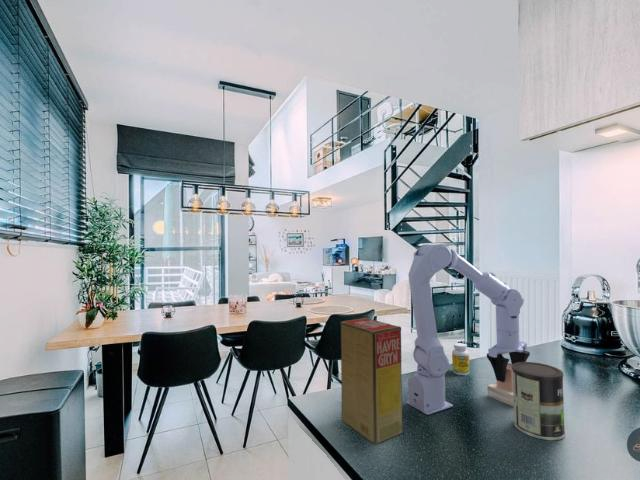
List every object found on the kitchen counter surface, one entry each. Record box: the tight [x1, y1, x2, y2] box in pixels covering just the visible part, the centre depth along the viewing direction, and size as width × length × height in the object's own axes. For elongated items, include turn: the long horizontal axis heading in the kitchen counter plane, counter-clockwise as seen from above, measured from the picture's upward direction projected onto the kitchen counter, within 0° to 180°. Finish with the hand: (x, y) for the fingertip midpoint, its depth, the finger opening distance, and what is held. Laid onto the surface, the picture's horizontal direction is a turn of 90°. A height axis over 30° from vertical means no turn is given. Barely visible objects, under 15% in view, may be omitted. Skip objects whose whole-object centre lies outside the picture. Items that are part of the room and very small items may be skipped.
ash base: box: [486, 381, 514, 408], centre depth 96 cm, size 8×8×3 cm
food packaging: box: [340, 317, 404, 446], centre depth 83 cm, size 13×9×25 cm
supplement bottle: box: [451, 342, 471, 376], centre depth 116 cm, size 5×5×10 cm
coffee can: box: [512, 361, 566, 442], centre depth 80 cm, size 10×10×14 cm
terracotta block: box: [496, 362, 513, 392], centre depth 96 cm, size 4×4×6 cm
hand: (509, 378), depth 96 cm, fingers open, 7 cm apart
